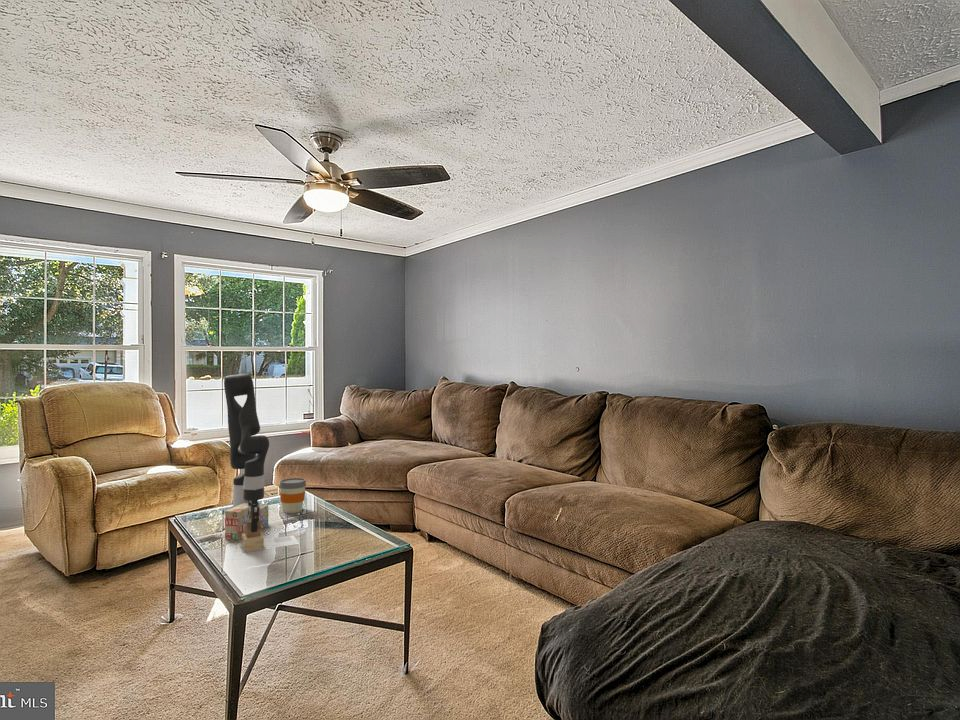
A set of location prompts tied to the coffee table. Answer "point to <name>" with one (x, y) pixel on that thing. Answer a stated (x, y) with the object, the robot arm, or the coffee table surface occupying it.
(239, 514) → the stack of blocks
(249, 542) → the oak block
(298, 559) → the coffee table surface
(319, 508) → the coffee table surface
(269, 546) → the white board
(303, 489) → the reusable coffee cup
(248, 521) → the walnut block
